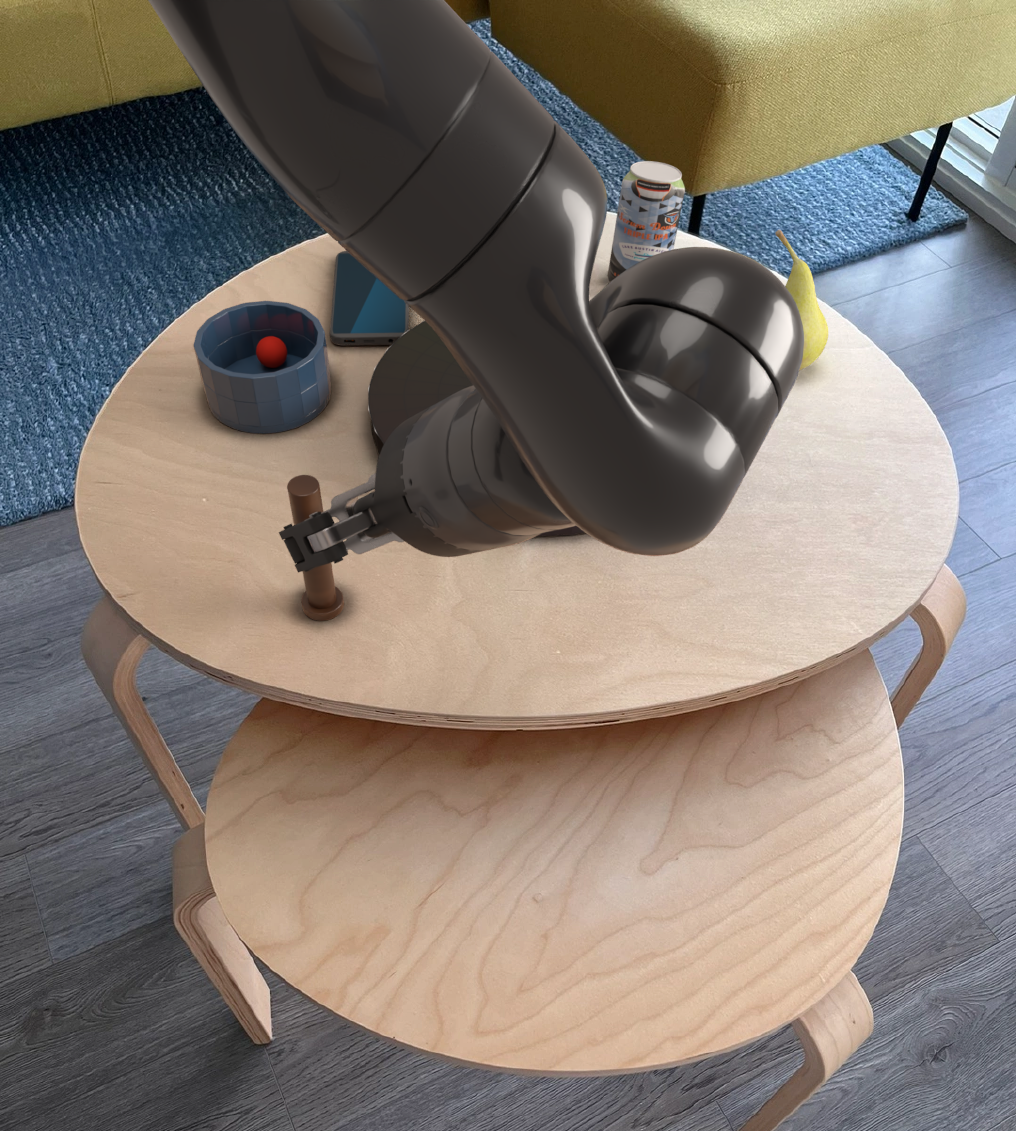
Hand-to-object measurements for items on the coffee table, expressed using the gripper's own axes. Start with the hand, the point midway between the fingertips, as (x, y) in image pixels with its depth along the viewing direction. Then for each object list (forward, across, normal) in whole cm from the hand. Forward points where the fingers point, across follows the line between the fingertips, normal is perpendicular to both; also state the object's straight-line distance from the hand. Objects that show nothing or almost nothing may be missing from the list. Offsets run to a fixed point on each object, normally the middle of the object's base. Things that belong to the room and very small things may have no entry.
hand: (370, 511), depth 68 cm
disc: (+25, -27, 0) cm, 37 cm away
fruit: (+20, -51, +4) cm, 55 cm away
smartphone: (+42, -25, -17) cm, 52 cm away
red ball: (+37, -11, -16) cm, 42 cm away
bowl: (+37, -9, -12) cm, 40 cm away
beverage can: (+33, -48, -8) cm, 59 cm away
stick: (+19, 0, +6) cm, 20 cm away
